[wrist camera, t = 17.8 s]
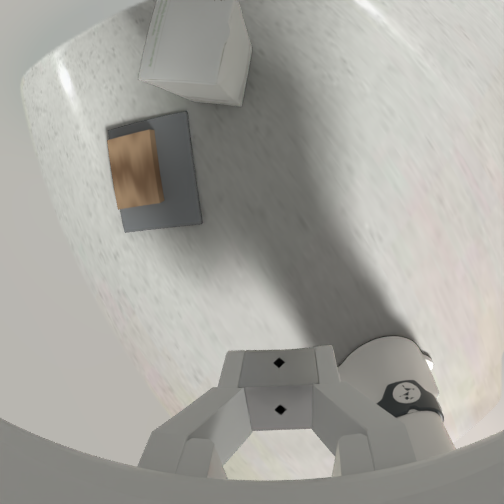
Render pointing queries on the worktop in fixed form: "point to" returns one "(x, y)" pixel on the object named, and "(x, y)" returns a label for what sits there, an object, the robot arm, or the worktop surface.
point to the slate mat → (166, 176)
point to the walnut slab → (135, 169)
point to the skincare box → (198, 50)
